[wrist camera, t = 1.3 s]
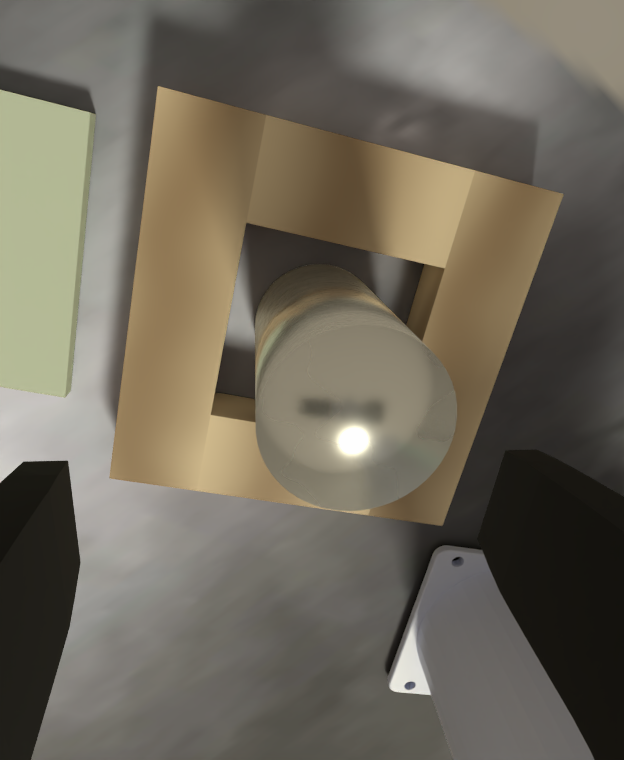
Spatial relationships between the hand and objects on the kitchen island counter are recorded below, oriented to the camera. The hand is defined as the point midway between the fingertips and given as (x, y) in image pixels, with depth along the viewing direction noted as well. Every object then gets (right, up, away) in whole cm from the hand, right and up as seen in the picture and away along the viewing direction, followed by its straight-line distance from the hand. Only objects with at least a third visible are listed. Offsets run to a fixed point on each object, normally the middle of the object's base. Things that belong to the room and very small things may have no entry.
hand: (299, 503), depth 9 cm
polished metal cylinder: (0, +4, +10) cm, 11 cm away
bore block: (0, +4, +10) cm, 11 cm away
